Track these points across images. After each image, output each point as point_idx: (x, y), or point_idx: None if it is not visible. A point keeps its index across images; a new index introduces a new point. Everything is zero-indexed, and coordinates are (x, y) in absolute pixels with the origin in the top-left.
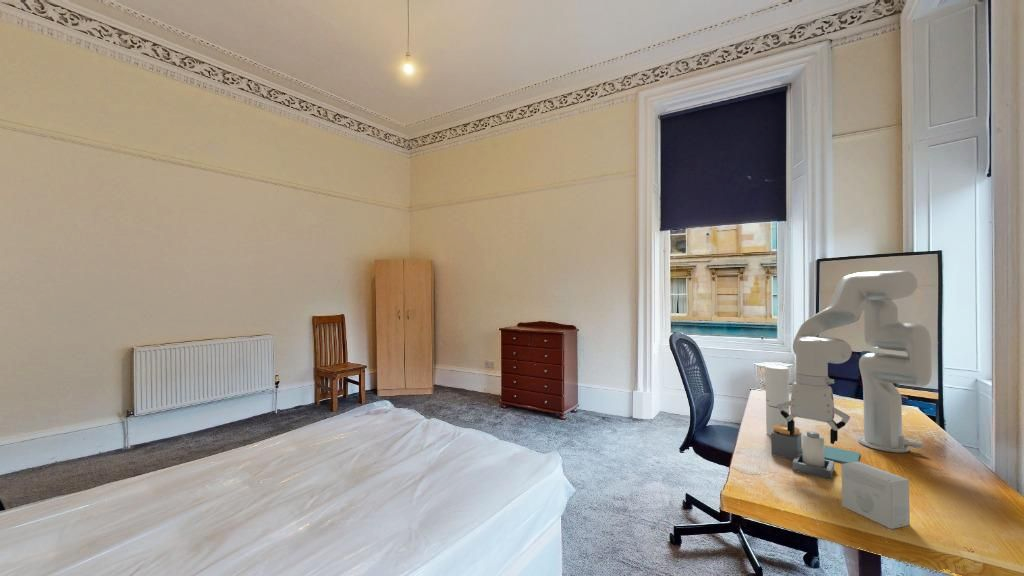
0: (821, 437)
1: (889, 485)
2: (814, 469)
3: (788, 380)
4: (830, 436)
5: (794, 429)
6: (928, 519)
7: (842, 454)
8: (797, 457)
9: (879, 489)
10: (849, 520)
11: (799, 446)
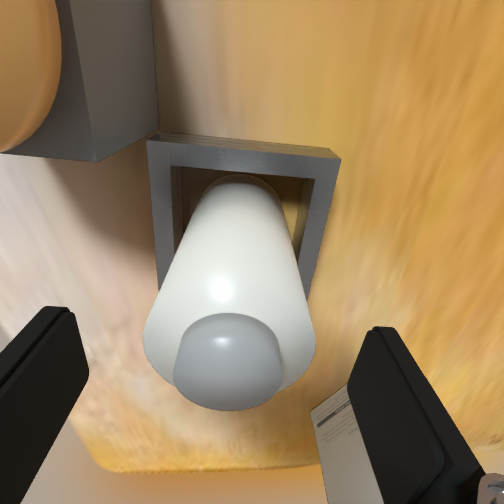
0: (296, 340)
1: None
2: None
3: None
4: (366, 447)
5: (50, 335)
6: (494, 376)
7: None
8: (162, 223)
9: None
10: (315, 449)
11: (124, 46)
